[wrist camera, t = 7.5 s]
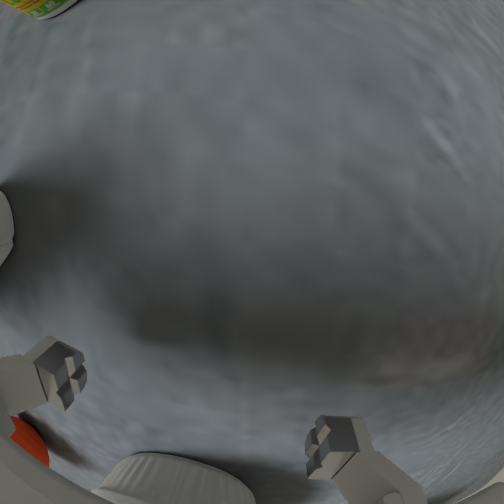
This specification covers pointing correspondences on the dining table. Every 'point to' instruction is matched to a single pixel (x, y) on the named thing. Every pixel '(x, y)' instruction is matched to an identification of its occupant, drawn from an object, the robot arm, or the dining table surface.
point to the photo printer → (5, 228)
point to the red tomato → (29, 440)
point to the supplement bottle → (40, 7)
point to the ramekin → (171, 482)
